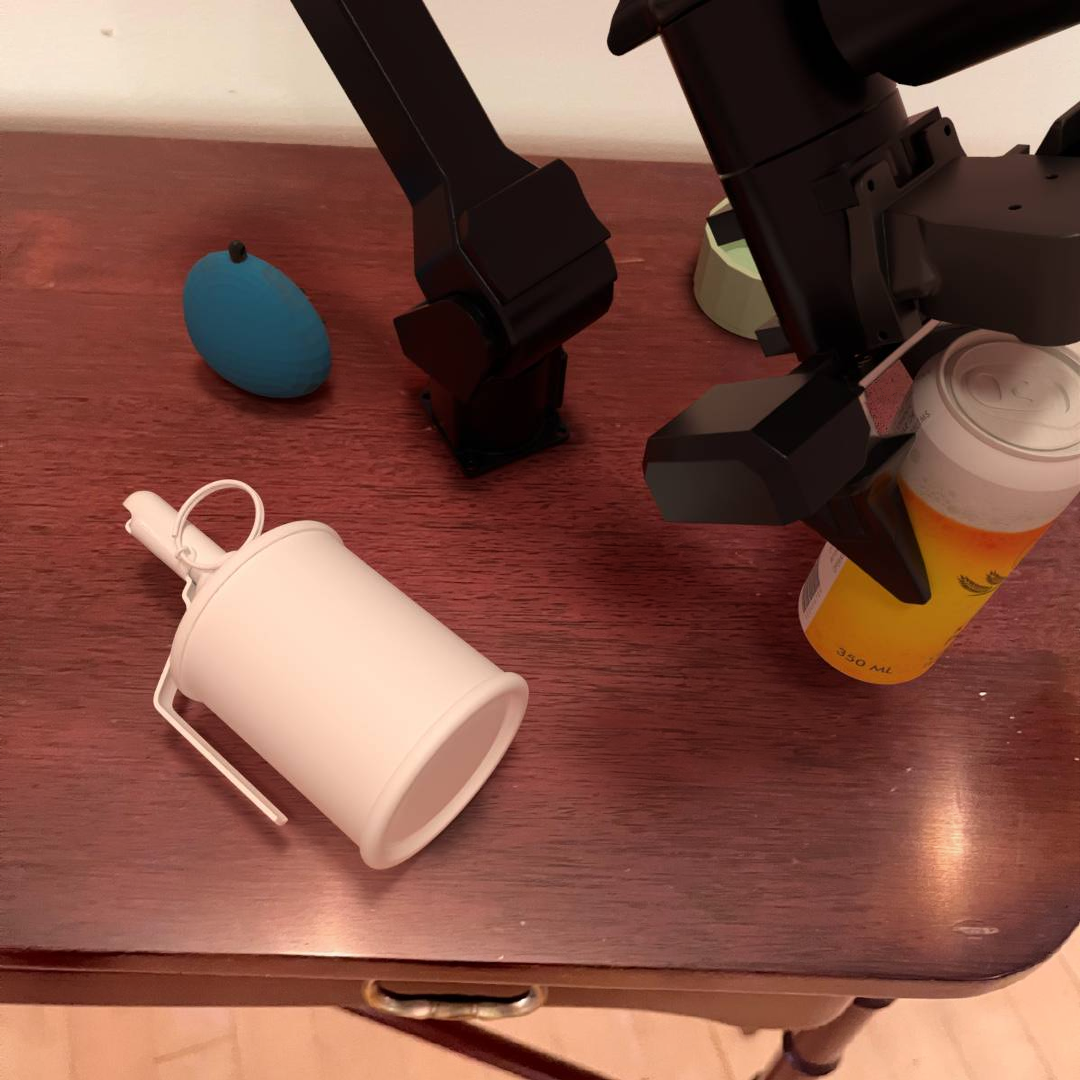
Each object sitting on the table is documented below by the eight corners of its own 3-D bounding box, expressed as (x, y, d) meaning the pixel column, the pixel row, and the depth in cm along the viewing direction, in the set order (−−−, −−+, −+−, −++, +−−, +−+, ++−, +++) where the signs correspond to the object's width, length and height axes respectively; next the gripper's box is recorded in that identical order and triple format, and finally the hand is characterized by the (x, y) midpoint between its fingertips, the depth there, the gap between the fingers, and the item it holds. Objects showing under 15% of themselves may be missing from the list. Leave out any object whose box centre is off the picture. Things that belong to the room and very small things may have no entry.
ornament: (356, 376, 58) (336, 234, 49) (319, 433, 55) (291, 293, 47) (226, 337, 59) (186, 191, 51) (184, 391, 56) (134, 246, 48)
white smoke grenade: (547, 705, 45) (246, 468, 51) (508, 656, 36) (152, 379, 43) (393, 901, 43) (101, 629, 49) (313, 898, 34) (-27, 569, 41)
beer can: (944, 700, 41) (1151, 477, 29) (797, 684, 41) (940, 455, 29) (925, 576, 45) (1103, 328, 32) (789, 561, 45) (915, 308, 32)
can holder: (745, 359, 60) (762, 301, 56) (667, 271, 64) (678, 212, 60) (857, 315, 63) (881, 258, 59) (775, 234, 67) (793, 175, 63)
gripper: (836, 191, 20) (1057, 774, 25) (1220, -82, 28) (1329, 402, 33) (536, 287, 30) (743, 699, 35) (889, 61, 38) (1014, 423, 43)
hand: (964, 550), depth 36 cm, fingers closed on beer can, 6 cm apart
